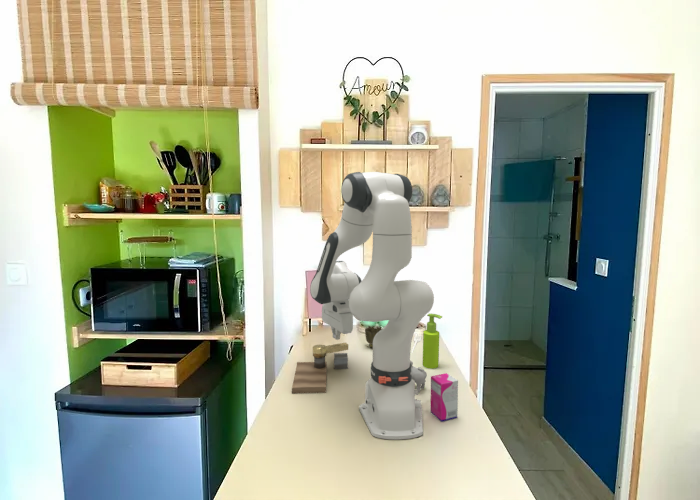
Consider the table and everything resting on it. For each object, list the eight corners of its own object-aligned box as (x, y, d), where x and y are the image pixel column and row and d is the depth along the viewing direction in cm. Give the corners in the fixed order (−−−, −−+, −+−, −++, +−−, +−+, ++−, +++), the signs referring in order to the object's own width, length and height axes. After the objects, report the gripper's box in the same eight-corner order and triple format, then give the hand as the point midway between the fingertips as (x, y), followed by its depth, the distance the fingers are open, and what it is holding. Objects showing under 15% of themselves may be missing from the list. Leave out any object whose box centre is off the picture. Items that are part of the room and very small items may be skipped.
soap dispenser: (436, 370, 147) (438, 318, 144) (419, 366, 151) (421, 314, 148) (443, 365, 151) (445, 314, 149) (426, 361, 155) (428, 311, 153)
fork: (407, 354, 164) (407, 350, 164) (414, 337, 183) (415, 333, 182) (415, 355, 163) (415, 351, 163) (422, 337, 182) (422, 333, 181)
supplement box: (445, 408, 121) (447, 372, 119) (457, 418, 115) (459, 380, 114) (429, 412, 119) (430, 375, 117) (440, 422, 113) (442, 384, 112)
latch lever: (315, 358, 142) (315, 350, 142) (310, 353, 146) (310, 345, 146) (349, 352, 148) (349, 344, 147) (344, 347, 152) (344, 340, 152)
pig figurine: (394, 378, 141) (395, 349, 139) (428, 388, 133) (429, 357, 132) (387, 384, 137) (387, 354, 135) (421, 394, 129) (422, 363, 128)
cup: (362, 349, 167) (362, 330, 166) (367, 342, 174) (367, 325, 173) (380, 351, 165) (380, 332, 164) (383, 344, 172) (384, 326, 171)
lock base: (350, 392, 131) (349, 374, 130) (292, 393, 130) (291, 375, 129) (347, 363, 154) (347, 348, 153) (298, 363, 153) (297, 348, 152)
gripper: (317, 298, 159) (318, 332, 161) (340, 310, 141) (340, 348, 143) (331, 296, 162) (332, 329, 163) (355, 308, 144) (356, 345, 145)
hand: (336, 338), depth 153 cm, fingers closed
